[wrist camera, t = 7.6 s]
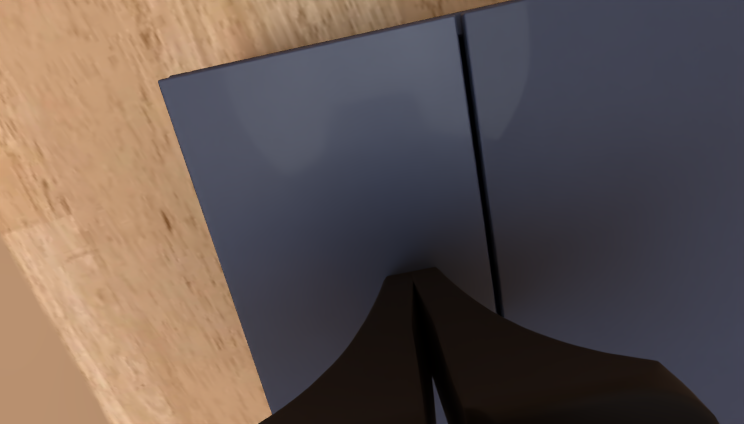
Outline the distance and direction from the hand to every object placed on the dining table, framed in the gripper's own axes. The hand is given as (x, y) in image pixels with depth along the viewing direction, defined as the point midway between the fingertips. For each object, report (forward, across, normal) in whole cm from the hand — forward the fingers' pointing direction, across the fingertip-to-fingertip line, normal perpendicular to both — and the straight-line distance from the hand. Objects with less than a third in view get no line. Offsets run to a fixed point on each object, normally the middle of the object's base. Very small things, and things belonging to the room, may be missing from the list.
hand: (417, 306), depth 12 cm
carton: (+7, -2, 0) cm, 8 cm away
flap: (0, +1, 0) cm, 1 cm away
